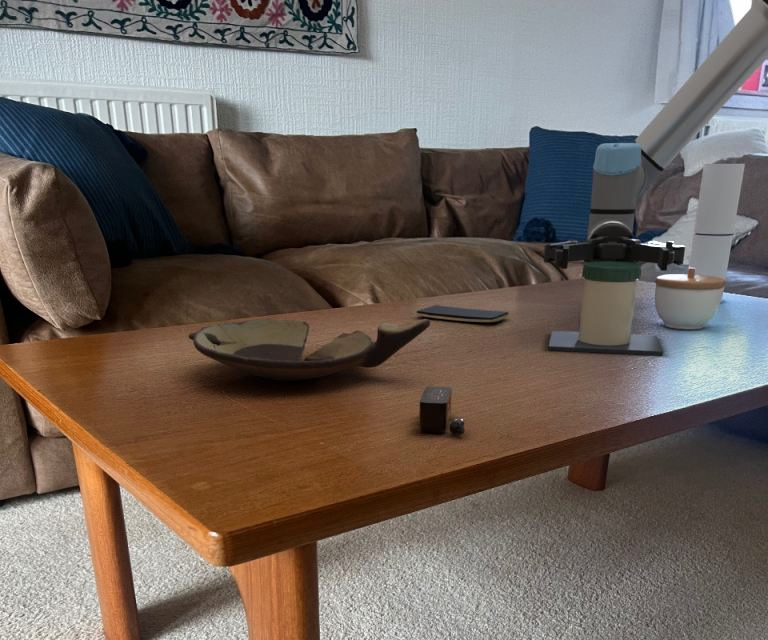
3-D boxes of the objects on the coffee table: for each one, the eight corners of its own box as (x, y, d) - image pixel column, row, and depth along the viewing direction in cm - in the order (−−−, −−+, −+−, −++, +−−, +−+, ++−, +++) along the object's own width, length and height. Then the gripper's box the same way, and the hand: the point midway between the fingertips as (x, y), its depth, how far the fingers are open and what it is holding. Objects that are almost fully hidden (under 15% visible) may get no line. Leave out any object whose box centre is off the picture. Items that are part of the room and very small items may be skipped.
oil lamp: (270, 347, 116) (267, 295, 113) (447, 374, 101) (448, 313, 98) (154, 379, 99) (147, 318, 96) (346, 416, 84) (344, 345, 81)
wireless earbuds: (417, 436, 78) (417, 404, 77) (425, 415, 84) (426, 386, 83) (463, 438, 77) (465, 406, 76) (468, 417, 84) (470, 387, 82)
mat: (656, 339, 121) (656, 335, 121) (662, 355, 111) (663, 351, 111) (551, 334, 125) (551, 330, 125) (548, 350, 114) (548, 346, 114)
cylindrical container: (679, 301, 155) (699, 163, 145) (689, 296, 161) (709, 163, 151) (716, 304, 152) (740, 163, 142) (725, 299, 157) (748, 163, 147)
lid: (638, 274, 117) (640, 262, 116) (641, 281, 109) (643, 268, 109) (582, 273, 118) (583, 260, 118) (581, 280, 111) (583, 267, 110)
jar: (628, 336, 120) (637, 266, 116) (631, 346, 113) (640, 272, 109) (578, 334, 122) (585, 265, 118) (577, 344, 115) (584, 271, 111)
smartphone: (434, 305, 144) (510, 311, 137) (434, 311, 145) (509, 318, 137) (415, 310, 138) (492, 318, 131) (415, 317, 139) (492, 325, 132)
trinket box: (655, 318, 138) (662, 263, 134) (720, 323, 133) (729, 266, 130) (645, 329, 129) (652, 270, 125) (714, 334, 125) (724, 273, 121)
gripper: (687, 271, 128) (704, 289, 109) (532, 268, 133) (523, 285, 114) (693, 222, 124) (712, 232, 106) (535, 221, 130) (526, 230, 111)
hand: (614, 259), depth 110 cm, fingers open, 13 cm apart
